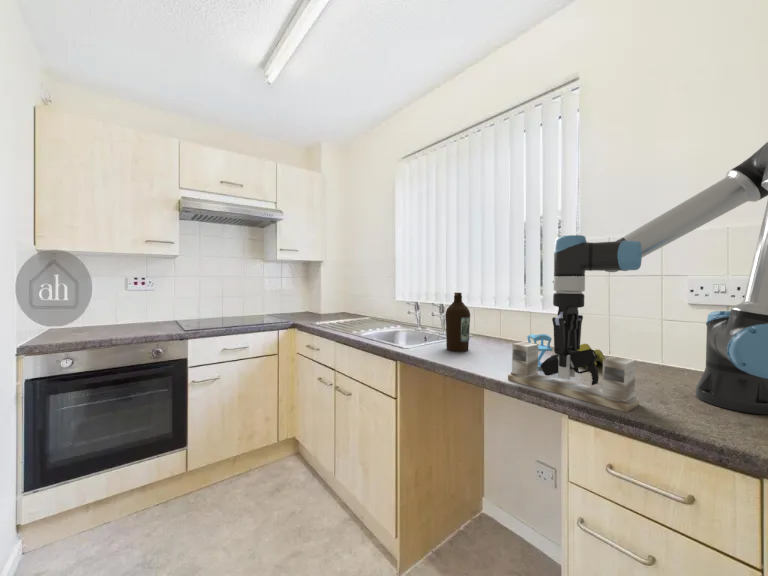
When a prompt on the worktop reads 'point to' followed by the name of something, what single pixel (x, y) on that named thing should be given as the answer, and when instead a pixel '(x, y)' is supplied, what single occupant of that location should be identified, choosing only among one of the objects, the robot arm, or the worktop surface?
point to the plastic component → (598, 352)
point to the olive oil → (457, 325)
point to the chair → (541, 347)
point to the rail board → (614, 383)
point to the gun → (573, 363)
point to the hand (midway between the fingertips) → (566, 376)
